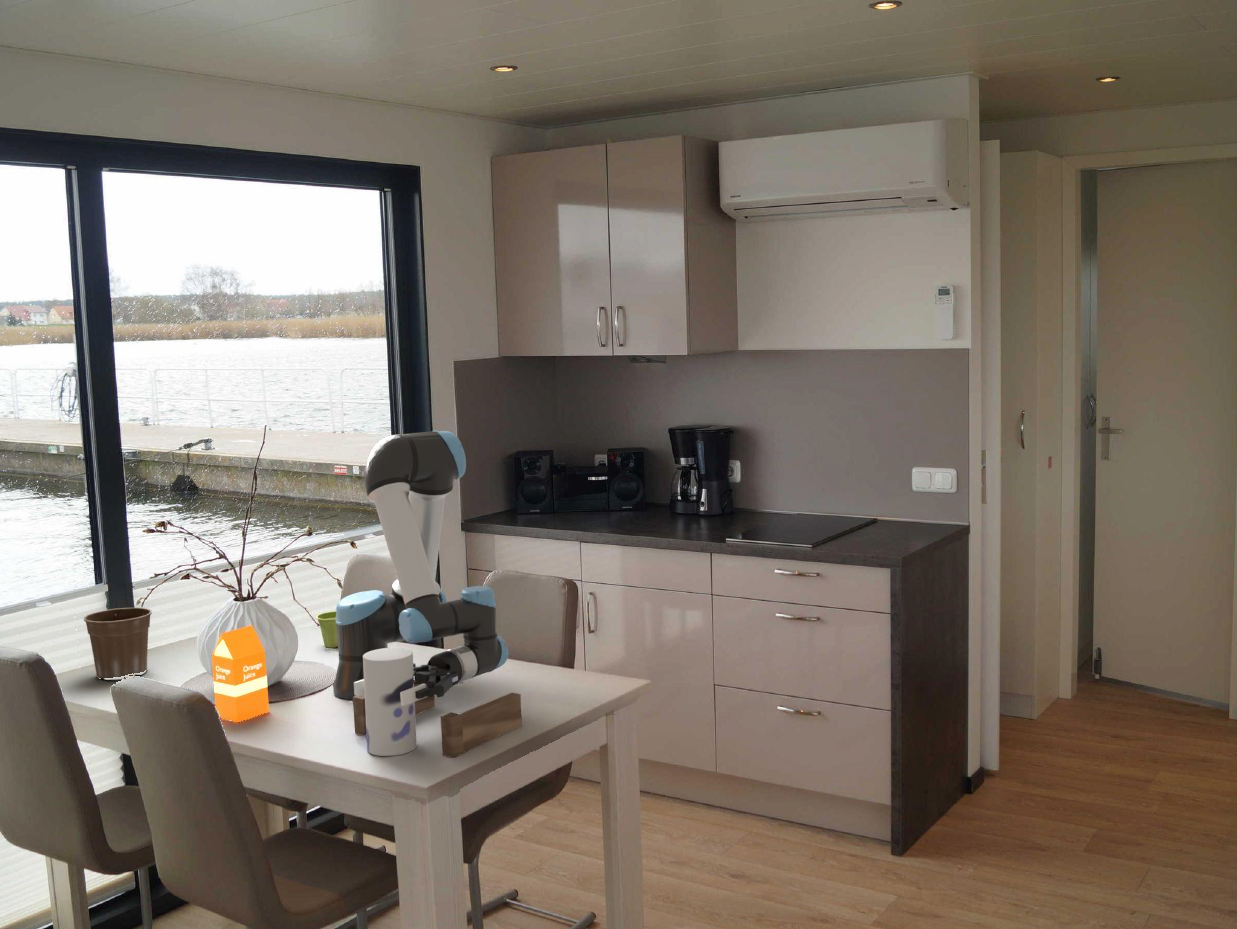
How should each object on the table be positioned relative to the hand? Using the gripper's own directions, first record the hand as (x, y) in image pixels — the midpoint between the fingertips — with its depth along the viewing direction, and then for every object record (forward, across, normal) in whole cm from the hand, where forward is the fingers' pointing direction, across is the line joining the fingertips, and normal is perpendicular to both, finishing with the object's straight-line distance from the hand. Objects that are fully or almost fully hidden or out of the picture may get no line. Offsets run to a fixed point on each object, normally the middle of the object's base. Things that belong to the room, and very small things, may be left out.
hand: (378, 694), depth 230 cm
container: (-3, 0, -13) cm, 13 cm away
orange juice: (-1, +47, -13) cm, 49 cm away
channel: (-17, 0, -12) cm, 21 cm away
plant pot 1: (-6, +104, -13) cm, 105 cm away
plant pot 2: (-53, +76, -13) cm, 94 cm away
